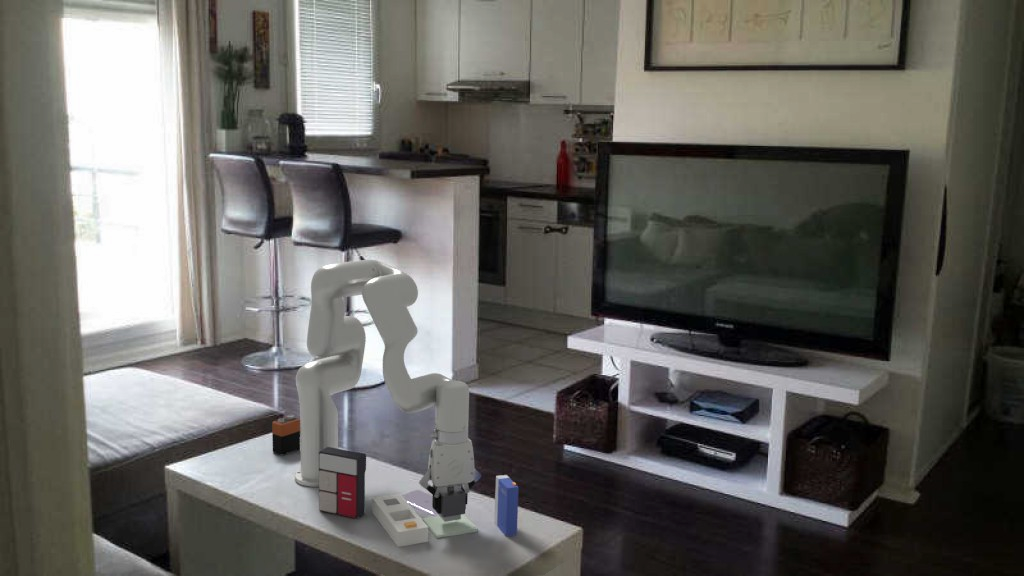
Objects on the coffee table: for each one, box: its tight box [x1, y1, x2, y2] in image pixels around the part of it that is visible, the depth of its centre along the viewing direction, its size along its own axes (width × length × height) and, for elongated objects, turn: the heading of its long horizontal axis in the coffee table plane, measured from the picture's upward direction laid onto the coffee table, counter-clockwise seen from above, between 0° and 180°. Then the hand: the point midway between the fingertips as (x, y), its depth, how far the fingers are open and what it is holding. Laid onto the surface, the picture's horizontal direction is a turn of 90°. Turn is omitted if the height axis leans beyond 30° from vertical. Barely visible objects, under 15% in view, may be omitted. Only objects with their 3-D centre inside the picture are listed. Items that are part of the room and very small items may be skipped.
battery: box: [271, 414, 301, 456], centre depth 256 cm, size 4×7×10 cm, turn 145°
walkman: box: [493, 474, 519, 537], centre depth 211 cm, size 8×3×12 cm, turn 21°
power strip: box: [371, 493, 429, 548], centre depth 211 cm, size 20×7×4 cm, turn 25°
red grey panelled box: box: [318, 447, 367, 519], centre depth 217 cm, size 11×4×15 cm, turn 68°
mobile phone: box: [401, 489, 439, 517], centre depth 225 cm, size 8×1×15 cm
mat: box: [421, 514, 479, 539], centre depth 212 cm, size 10×10×1 cm
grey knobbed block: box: [439, 485, 467, 522], centre depth 211 cm, size 6×6×8 cm
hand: (449, 508), depth 212 cm, fingers closed on grey knobbed block, 5 cm apart
